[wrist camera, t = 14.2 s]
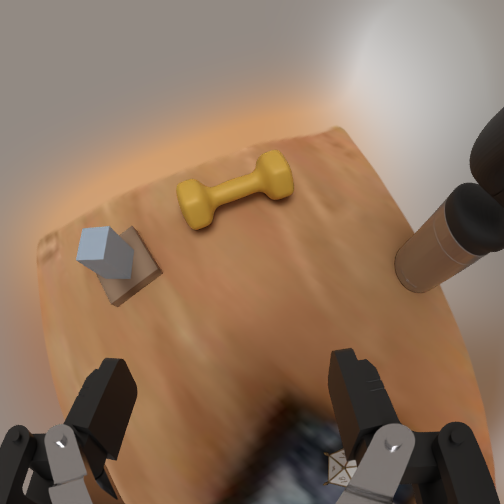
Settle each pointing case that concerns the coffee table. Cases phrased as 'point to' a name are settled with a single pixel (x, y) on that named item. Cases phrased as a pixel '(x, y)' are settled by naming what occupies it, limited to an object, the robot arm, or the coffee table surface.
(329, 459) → the game die
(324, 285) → the coffee table surface
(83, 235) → the pillar
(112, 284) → the slab
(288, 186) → the dumbbell
